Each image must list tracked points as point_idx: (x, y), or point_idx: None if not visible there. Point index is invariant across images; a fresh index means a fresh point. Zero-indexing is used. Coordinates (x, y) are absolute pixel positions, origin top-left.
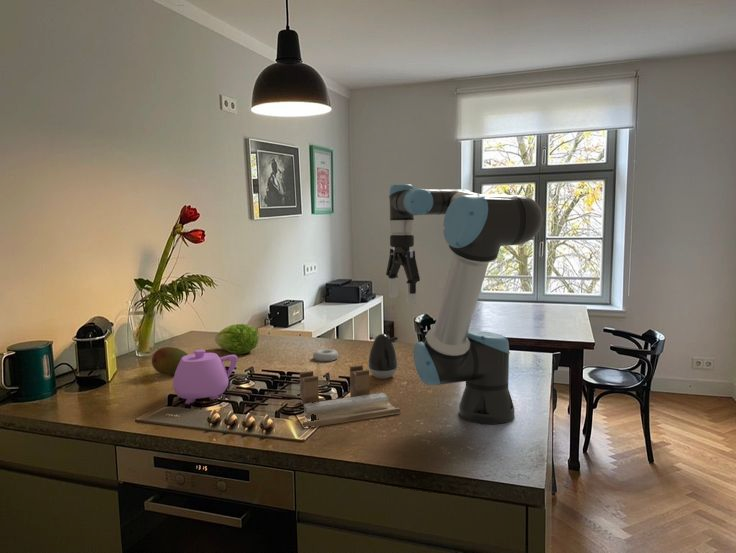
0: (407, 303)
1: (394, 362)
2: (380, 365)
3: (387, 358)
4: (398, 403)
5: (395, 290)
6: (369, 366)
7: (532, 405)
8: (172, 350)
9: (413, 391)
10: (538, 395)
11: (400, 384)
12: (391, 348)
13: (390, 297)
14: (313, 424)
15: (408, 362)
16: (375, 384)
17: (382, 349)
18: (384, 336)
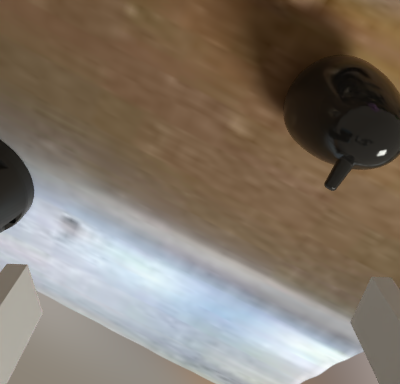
0: (16, 268)
1: (292, 133)
2: (301, 81)
3: (299, 112)
4: (87, 27)
5: (387, 370)
6: (346, 55)
7: None
8: None
9: (164, 113)
10: (61, 296)
11: (231, 109)
12: (315, 144)
13: (374, 282)
14: None
15: (380, 211)
16: (268, 40)
17: (324, 108)
18: (360, 144)
